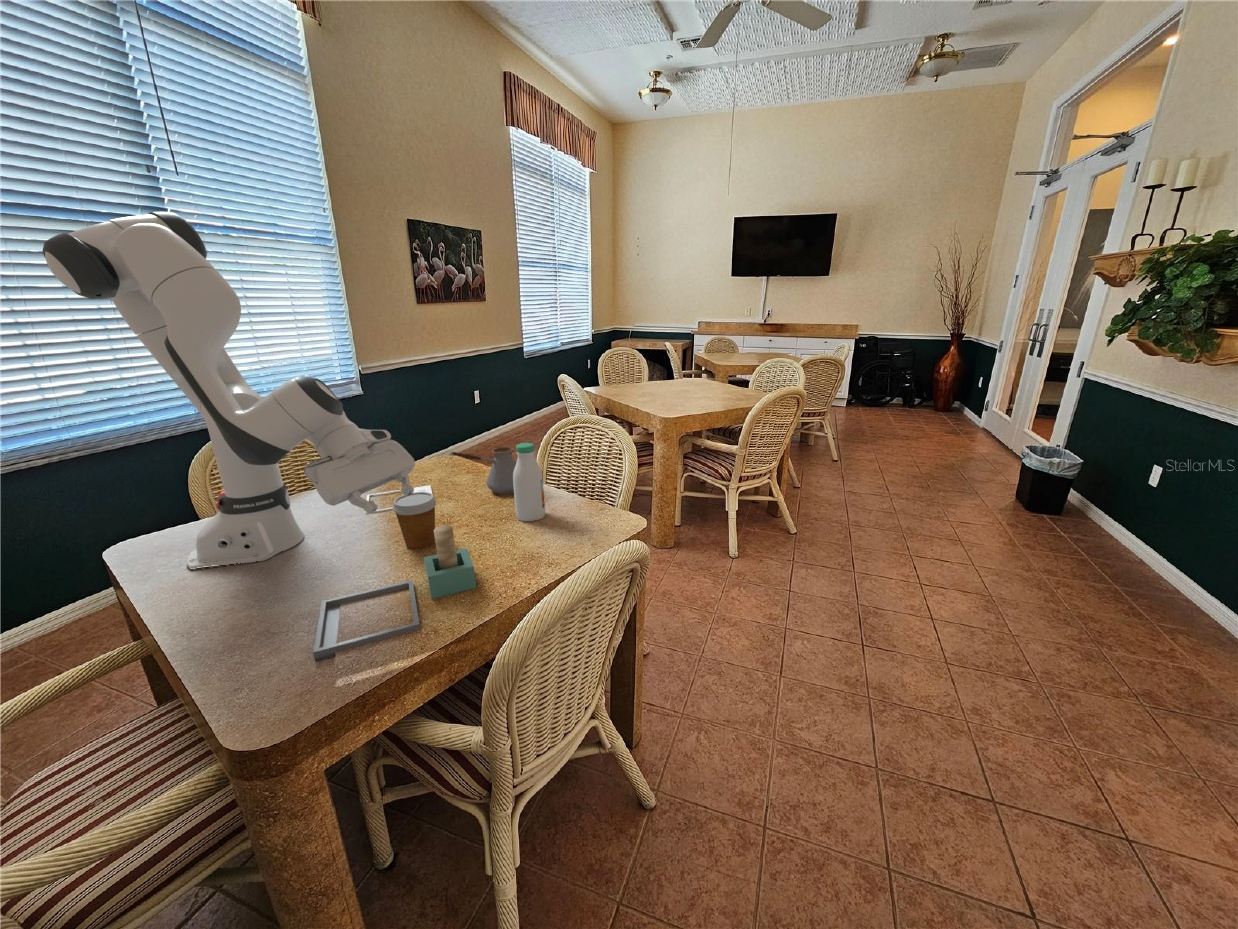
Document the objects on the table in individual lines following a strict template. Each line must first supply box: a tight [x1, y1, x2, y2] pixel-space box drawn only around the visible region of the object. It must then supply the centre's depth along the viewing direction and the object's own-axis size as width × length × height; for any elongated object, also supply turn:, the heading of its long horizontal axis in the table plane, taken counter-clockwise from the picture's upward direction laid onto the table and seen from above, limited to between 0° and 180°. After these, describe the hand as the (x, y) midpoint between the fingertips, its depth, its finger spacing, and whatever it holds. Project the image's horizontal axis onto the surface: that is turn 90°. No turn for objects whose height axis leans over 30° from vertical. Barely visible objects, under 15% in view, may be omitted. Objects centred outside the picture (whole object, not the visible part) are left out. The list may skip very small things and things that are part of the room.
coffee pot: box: [449, 446, 517, 495], centre depth 146 cm, size 21×12×15 cm, turn 125°
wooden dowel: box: [434, 524, 458, 570], centre depth 98 cm, size 4×4×12 cm
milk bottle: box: [513, 442, 546, 522], centre depth 129 cm, size 8×8×20 cm
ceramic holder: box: [423, 548, 477, 600], centre depth 99 cm, size 8×8×6 cm
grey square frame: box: [312, 579, 421, 662], centre depth 89 cm, size 16×16×2 cm
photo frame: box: [364, 484, 434, 515], centre depth 145 cm, size 15×1×18 cm
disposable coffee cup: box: [391, 492, 437, 550], centre depth 115 cm, size 10×10×12 cm
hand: (392, 501), depth 98 cm, fingers open, 8 cm apart
